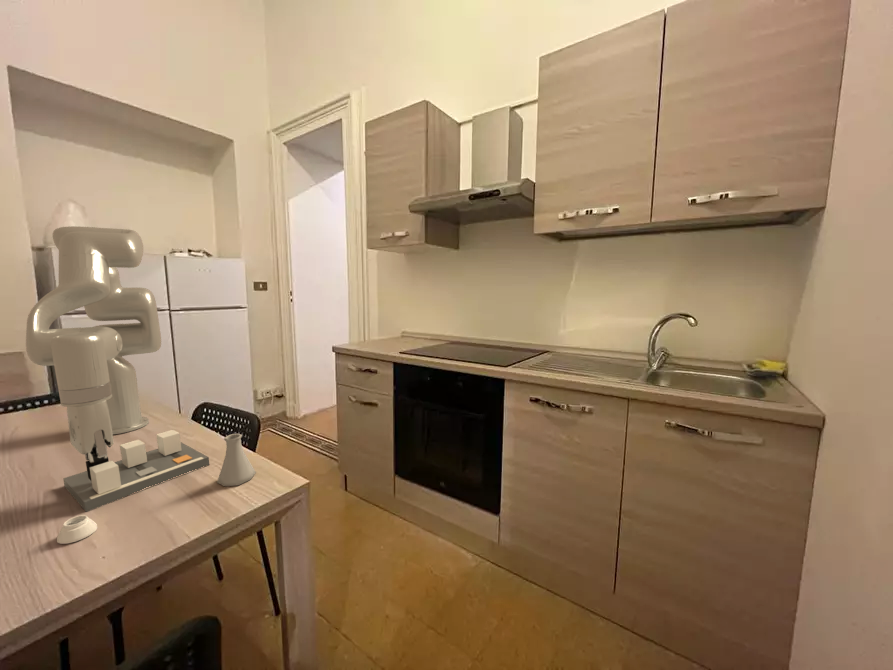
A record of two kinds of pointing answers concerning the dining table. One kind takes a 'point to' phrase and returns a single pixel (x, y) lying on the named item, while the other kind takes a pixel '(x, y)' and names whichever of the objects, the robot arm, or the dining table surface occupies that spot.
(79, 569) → the dining table surface
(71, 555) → the dining table surface
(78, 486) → the switch panel
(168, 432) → the cream cube
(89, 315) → the robot arm
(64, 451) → the dining table surface
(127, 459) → the tab
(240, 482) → the flask
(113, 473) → the tab
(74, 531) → the upside-down white bowl
